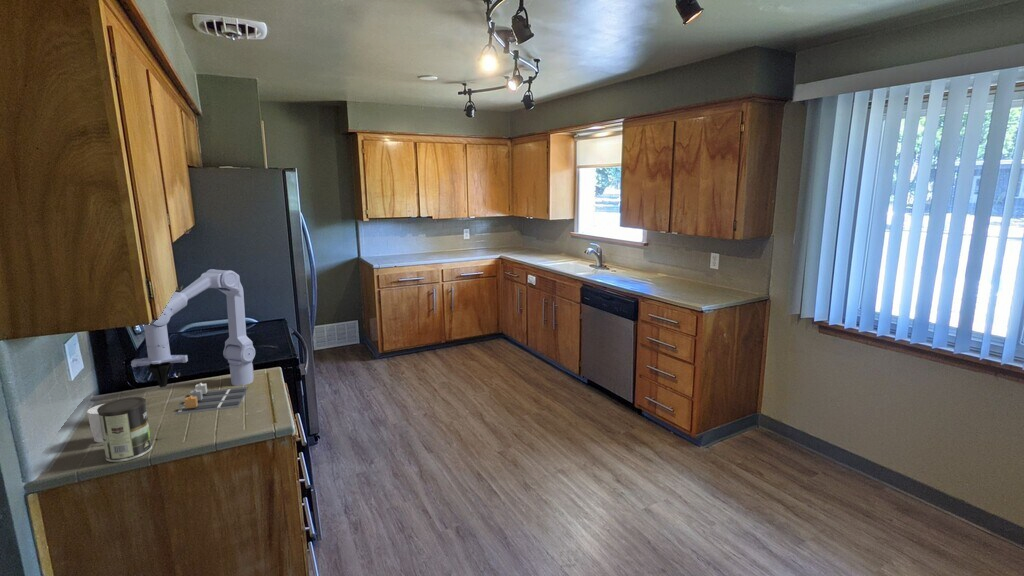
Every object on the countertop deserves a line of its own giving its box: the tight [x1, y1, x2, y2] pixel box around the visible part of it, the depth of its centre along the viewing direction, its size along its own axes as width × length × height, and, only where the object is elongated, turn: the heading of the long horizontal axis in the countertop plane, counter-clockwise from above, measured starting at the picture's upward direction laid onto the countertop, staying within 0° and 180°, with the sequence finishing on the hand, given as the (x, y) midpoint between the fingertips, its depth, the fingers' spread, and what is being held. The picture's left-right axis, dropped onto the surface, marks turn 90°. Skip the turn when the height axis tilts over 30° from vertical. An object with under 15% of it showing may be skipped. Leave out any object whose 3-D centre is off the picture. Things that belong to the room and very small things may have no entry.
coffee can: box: [97, 396, 153, 463], centre depth 135 cm, size 10×10×14 cm
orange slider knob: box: [184, 395, 198, 408], centre depth 161 cm, size 2×3×4 cm, turn 108°
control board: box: [174, 386, 249, 416], centre depth 169 cm, size 19×18×1 cm
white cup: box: [86, 403, 105, 444], centre depth 142 cm, size 8×8×10 cm
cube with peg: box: [189, 389, 203, 401], centre depth 167 cm, size 2×3×4 cm, turn 108°
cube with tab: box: [194, 382, 208, 394], centre depth 172 cm, size 2×3×4 cm, turn 108°
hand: (163, 385), depth 158 cm, fingers closed
